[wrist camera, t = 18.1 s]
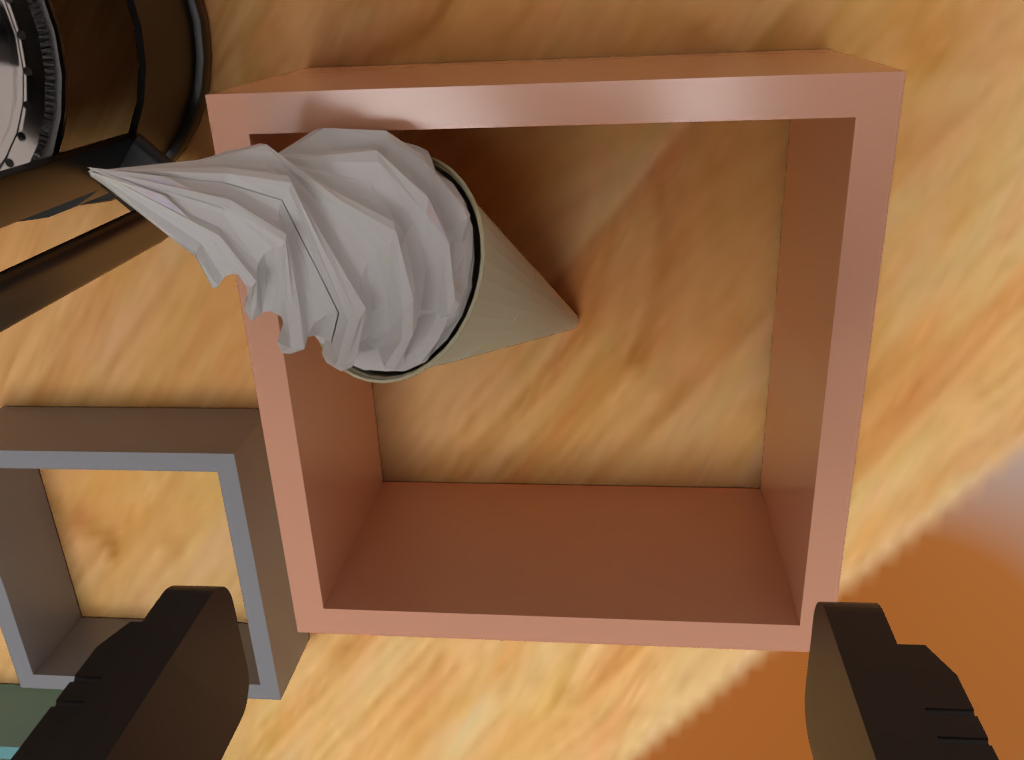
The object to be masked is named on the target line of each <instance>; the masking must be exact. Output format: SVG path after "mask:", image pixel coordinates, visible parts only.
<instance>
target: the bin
mask: <svg viewBox="0 0 1024 760" xmlns="http://www.w3.org/2000/svg"><path fill="white" fill-rule="evenodd" d="M905 73H906V71H903V70H900V69H896V68H893V67H889V66H886V65H882V64H879V63H875V62H872V61H869V60H865V59H862V58H858V57H855V56H851V55H848V54H844V53H841V52H837V51H834V50H831V49H816V50H788V51H761V52H734V53H706V54H679V55H652V56H624V57H597V58H569V59H542V60H515V61H487V62H460V63H433V64H405V65H378V66H350V67H323V68H305V69H301V70H297V71H294V72H290V73H286V74H282V75H278V76H275V77H271V78H267V79H263V80H259V81H255V82H252V83H248V84H244V85H240V86H236V87H232V88H229V89H225V90H221V91H217V92H213V93H210V94H206V95H205V98H206V104H207V110H208V116H209V121H210V127H211V133H212V139H213V144H214V150H215V155H218V154H220V153H222V152H224V151H226V150H237V149H241V148H244V147H248V146H252V145H256V144H260V143H261V144H267V145H268V146H269V147H271V148H272V149H273V150H275V151H276V152H277V153H279V152H281V151H282V150H284V149H285V148H287V147H288V146H290V145H292V144H293V143H295V142H296V141H298V140H299V139H301V138H303V137H304V136H306V135H307V134H309V133H310V132H312V131H314V130H316V129H321V128H339V129H361V130H417V129H452V128H488V127H524V126H560V125H596V124H631V123H667V122H703V121H739V120H774V119H790V131H789V143H788V156H787V168H786V180H785V192H784V205H783V217H782V229H781V241H780V253H779V266H778V278H777V290H776V302H775V314H774V327H773V339H772V351H771V363H770V376H769V388H768V400H767V412H766V424H765V437H764V449H763V461H762V473H761V486H760V489H757V488H702V487H648V486H593V485H539V484H484V483H430V482H383V476H382V467H381V459H380V450H379V441H378V433H377V424H376V415H375V407H374V398H373V389H372V382H367V381H364V380H361V379H358V378H355V377H353V376H351V375H350V374H348V373H346V372H345V371H342V372H341V371H340V370H338V369H336V368H335V367H333V366H331V365H330V364H328V363H326V361H325V359H324V357H323V355H322V350H323V348H322V347H321V345H320V343H319V341H318V339H317V338H316V337H315V336H310V337H307V341H306V345H305V349H303V350H300V351H297V352H294V353H291V354H287V353H282V352H281V350H280V348H279V345H278V343H277V341H278V338H279V335H280V331H281V328H282V325H283V321H282V317H281V316H279V315H277V314H275V313H273V312H271V311H268V312H264V313H261V314H260V315H259V316H258V317H257V318H255V319H254V320H253V321H251V320H250V318H249V316H248V315H247V313H246V312H245V310H244V307H245V302H246V297H247V288H246V285H245V284H244V282H243V281H242V280H241V278H240V277H239V275H237V274H236V277H237V283H238V289H239V295H240V301H241V306H242V312H243V318H244V324H245V329H246V335H247V341H248V347H249V353H250V358H251V364H252V370H253V376H254V381H255V387H256V393H257V399H258V405H259V410H260V416H261V422H262V428H263V434H264V439H265V445H266V451H267V457H268V462H269V468H270V474H271V480H272V486H273V491H274V497H275V503H276V509H277V514H278V520H279V526H280V532H281V538H282V543H283V549H284V555H285V561H286V566H287V572H288V578H289V584H290V590H291V595H292V601H293V607H294V613H295V618H296V624H297V630H298V632H304V633H330V634H356V635H382V636H408V637H433V638H459V639H485V640H511V641H537V642H563V643H589V644H615V645H640V646H666V647H692V648H718V649H744V650H770V651H796V652H798V651H799V652H810V643H811V634H812V625H813V616H814V610H815V606H816V604H817V603H818V602H837V598H838V590H839V582H840V575H841V567H842V559H843V551H844V544H845V536H846V528H847V521H848V513H849V505H850V497H851V490H852V482H853V474H854V467H855V459H856V451H857V443H858V436H859V428H860V420H861V413H862V405H863V397H864V389H865V382H866V374H867V366H868V359H869V351H870V343H871V335H872V328H873V320H874V312H875V305H876V297H877V289H878V282H879V274H880V266H881V258H882V251H883V243H884V235H885V228H886V220H887V212H888V204H889V197H890V189H891V181H892V174H893V166H894V158H895V150H896V143H897V135H898V127H899V120H900V112H901V104H902V96H903V89H904V81H905Z"/></svg>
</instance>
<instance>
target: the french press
mask: <svg viewBox="0 0 1024 760" xmlns="http://www.w3.org/2000/svg"><path fill="white" fill-rule="evenodd" d="M126 2H127V5H128V8H129V12H130V15H131V18H132V22H133V25H134V31H135V39H136V47H137V55H138V63H139V69H138V88H137V102H136V106H135V110H134V113H133V117H132V121H131V125H130V129H129V133H126V134H123V135H119V136H116V137H113V138H109V139H106V140H102V141H99V142H96V143H92V144H89V145H86V146H82V147H79V148H76V149H72V150H69V151H66V152H62V153H59V149H60V146H61V142H62V139H63V136H64V131H65V124H66V118H67V111H68V71H67V65H66V58H65V52H64V46H63V40H62V33H61V30H60V27H59V24H58V21H57V18H56V15H55V12H54V9H53V6H52V3H51V0H0V228H2V227H5V226H7V225H10V224H12V223H15V222H19V221H26V220H33V219H40V218H46V217H50V216H53V215H55V214H58V213H60V212H63V211H65V210H68V209H71V208H73V207H76V206H78V205H86V204H93V203H100V202H107V201H111V200H114V199H117V200H118V201H119V202H121V203H122V204H123V205H124V206H125V207H127V208H128V209H129V210H130V211H131V212H129V213H127V214H125V215H123V216H120V217H118V218H116V219H114V220H112V221H110V222H107V223H105V224H103V225H101V226H99V227H97V228H94V229H92V230H90V231H88V232H86V233H84V234H81V235H79V236H77V237H75V238H73V239H71V240H69V241H66V242H64V243H62V244H60V245H58V246H56V247H53V248H51V249H49V250H47V251H45V252H43V253H40V254H38V255H36V256H34V257H32V258H30V259H27V260H25V261H23V262H21V263H19V264H17V265H15V266H12V267H10V268H8V269H6V270H4V271H2V272H0V332H2V331H3V330H5V329H7V328H9V327H11V326H12V325H14V324H16V323H18V322H19V321H21V320H23V319H25V318H27V317H28V316H30V315H32V314H34V313H35V312H37V311H39V310H41V309H43V308H44V307H46V306H48V305H50V304H52V303H53V302H55V301H57V300H59V299H60V298H62V297H64V296H66V295H68V294H69V293H71V292H73V291H75V290H76V289H78V288H80V287H82V286H84V285H85V284H87V283H89V282H91V281H93V280H94V279H96V278H98V277H100V276H101V275H103V274H105V273H107V272H109V271H110V270H112V269H114V268H116V267H118V266H119V265H121V264H123V263H125V262H126V261H128V260H130V259H132V258H134V257H135V256H137V255H139V254H141V253H142V252H144V251H146V250H148V249H150V248H151V247H153V246H155V245H157V244H159V243H160V242H162V241H163V240H165V239H166V238H167V237H169V236H168V235H167V234H166V233H164V232H163V231H162V230H160V229H159V228H158V227H157V226H155V225H154V224H153V223H152V222H150V221H149V220H148V219H146V218H145V217H144V216H143V215H141V214H140V213H139V212H138V211H136V210H135V209H134V208H132V207H131V206H130V205H129V204H127V203H126V202H125V201H124V200H122V199H121V198H120V197H118V196H117V195H116V194H115V193H113V192H112V191H111V190H110V189H108V188H107V187H106V186H104V185H103V184H101V183H100V182H98V181H97V180H95V179H94V178H92V177H91V175H90V173H89V172H88V171H90V170H91V169H89V168H88V167H91V168H99V169H115V168H124V167H134V166H144V165H153V164H163V163H172V162H175V160H176V159H177V158H178V157H179V156H180V155H181V154H182V153H183V151H184V150H185V148H186V147H187V145H188V143H189V141H190V139H191V137H192V135H193V134H194V132H195V130H196V128H197V126H198V124H199V122H200V119H201V115H202V112H203V108H204V105H205V102H206V98H205V95H206V94H208V91H209V80H210V68H211V47H210V36H209V25H208V19H207V15H206V11H205V8H204V4H203V0H126ZM58 153H59V154H58Z"/></svg>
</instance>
